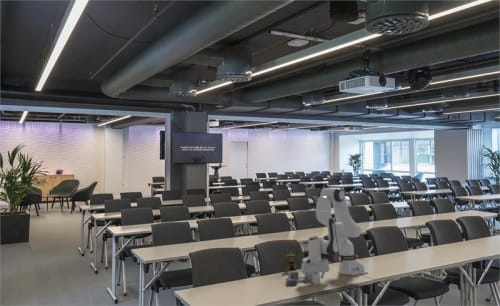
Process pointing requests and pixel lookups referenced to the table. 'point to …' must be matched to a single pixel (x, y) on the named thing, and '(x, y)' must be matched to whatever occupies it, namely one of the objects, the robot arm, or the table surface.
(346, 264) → the robot arm
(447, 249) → the table surface
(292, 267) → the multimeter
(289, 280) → the relay
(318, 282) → the module
